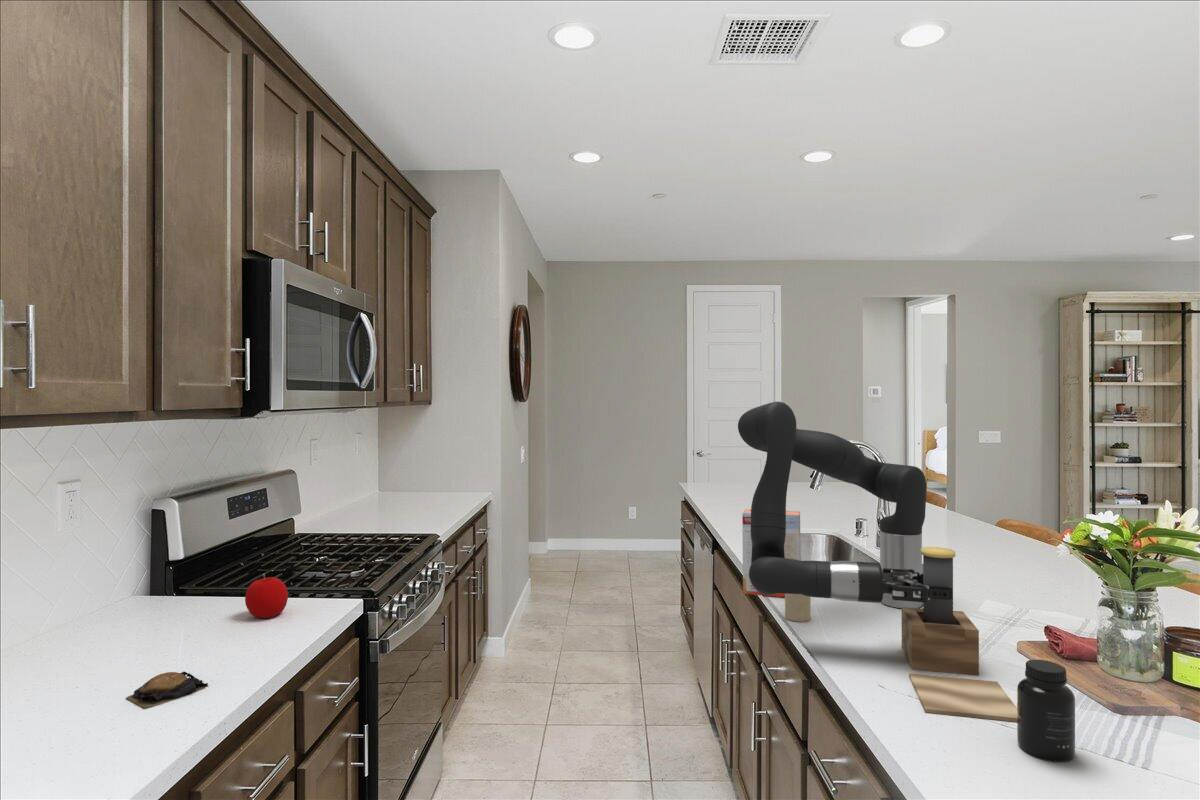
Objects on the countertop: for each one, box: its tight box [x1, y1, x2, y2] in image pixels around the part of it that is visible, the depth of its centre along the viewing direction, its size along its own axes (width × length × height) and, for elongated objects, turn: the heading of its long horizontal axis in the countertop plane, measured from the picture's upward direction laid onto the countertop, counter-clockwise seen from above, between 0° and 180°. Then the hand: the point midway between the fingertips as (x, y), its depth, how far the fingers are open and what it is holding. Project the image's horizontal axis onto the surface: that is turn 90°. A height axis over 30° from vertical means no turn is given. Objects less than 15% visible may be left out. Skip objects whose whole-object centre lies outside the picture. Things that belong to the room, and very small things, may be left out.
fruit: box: [244, 573, 289, 619], centre depth 156 cm, size 9×9×10 cm
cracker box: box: [741, 508, 802, 598], centre depth 171 cm, size 14×6×21 cm, turn 71°
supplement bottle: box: [1016, 659, 1076, 763], centre depth 95 cm, size 7×7×12 cm
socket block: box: [901, 607, 980, 676], centre depth 128 cm, size 11×11×8 cm
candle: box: [784, 594, 812, 623], centre depth 152 cm, size 6×6×10 cm
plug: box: [921, 546, 956, 625], centre depth 128 cm, size 6×6×15 cm
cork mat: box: [908, 673, 1017, 723], centre depth 112 cm, size 14×14×1 cm
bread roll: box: [125, 671, 209, 710], centre depth 116 cm, size 11×8×4 cm
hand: (946, 586), depth 127 cm, fingers open, 8 cm apart
